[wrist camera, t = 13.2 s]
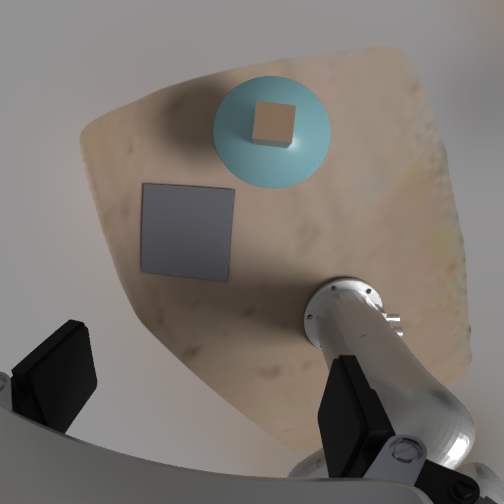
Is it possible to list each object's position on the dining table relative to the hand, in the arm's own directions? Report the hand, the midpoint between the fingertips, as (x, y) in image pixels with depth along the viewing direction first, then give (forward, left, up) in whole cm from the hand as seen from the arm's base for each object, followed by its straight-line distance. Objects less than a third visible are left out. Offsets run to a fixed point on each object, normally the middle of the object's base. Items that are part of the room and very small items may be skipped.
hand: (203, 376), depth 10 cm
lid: (-2, -12, -23) cm, 26 cm away
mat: (+9, +2, -33) cm, 34 cm away
